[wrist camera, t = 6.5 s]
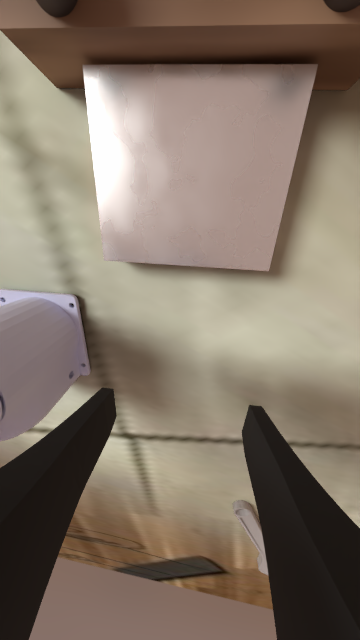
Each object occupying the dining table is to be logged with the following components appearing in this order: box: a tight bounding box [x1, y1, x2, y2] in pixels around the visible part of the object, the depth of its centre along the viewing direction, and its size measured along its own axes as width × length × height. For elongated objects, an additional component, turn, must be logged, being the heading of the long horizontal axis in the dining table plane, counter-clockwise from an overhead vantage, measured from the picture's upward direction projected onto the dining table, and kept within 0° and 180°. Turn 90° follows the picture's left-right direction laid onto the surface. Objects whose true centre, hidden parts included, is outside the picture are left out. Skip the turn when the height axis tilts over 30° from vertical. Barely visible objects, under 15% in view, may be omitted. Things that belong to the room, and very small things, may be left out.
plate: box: [83, 64, 318, 271], centre depth 13 cm, size 10×12×3 cm
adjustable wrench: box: [233, 500, 268, 575], centre depth 34 cm, size 25×6×2 cm, turn 20°
